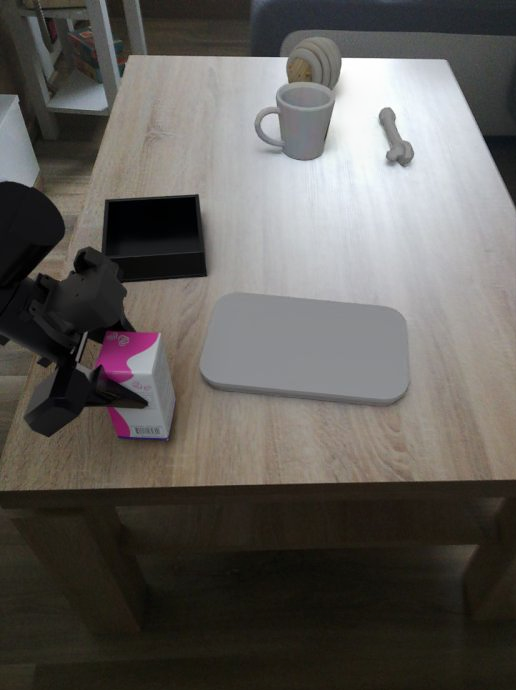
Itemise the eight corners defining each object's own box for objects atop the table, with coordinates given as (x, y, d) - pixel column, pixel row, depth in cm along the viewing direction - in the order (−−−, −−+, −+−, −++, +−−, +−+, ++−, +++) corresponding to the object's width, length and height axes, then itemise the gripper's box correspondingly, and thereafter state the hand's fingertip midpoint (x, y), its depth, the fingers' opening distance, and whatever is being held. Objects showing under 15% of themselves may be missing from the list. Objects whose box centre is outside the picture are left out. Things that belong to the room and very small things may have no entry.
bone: (413, 170, 102) (417, 151, 99) (384, 169, 102) (388, 149, 99) (402, 121, 113) (405, 102, 110) (376, 120, 113) (379, 101, 110)
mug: (340, 158, 104) (346, 103, 96) (266, 174, 99) (265, 117, 91) (316, 131, 109) (319, 77, 101) (244, 145, 105) (242, 90, 97)
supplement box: (177, 399, 66) (163, 331, 57) (168, 441, 62) (152, 376, 53) (127, 397, 65) (105, 328, 56) (116, 439, 62) (91, 373, 53)
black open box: (108, 283, 81) (100, 258, 77) (111, 224, 89) (104, 199, 85) (207, 276, 82) (204, 251, 79) (201, 218, 91) (198, 193, 87)
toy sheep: (271, 105, 115) (271, 45, 106) (311, 75, 124) (314, 18, 115) (315, 120, 112) (319, 60, 103) (353, 88, 121) (360, 30, 112)
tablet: (405, 412, 69) (408, 401, 67) (196, 392, 69) (194, 380, 68) (403, 319, 79) (406, 308, 77) (219, 302, 79) (218, 290, 77)
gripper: (15, 335, 39) (188, 428, 49) (79, 185, 51) (210, 284, 60) (-50, 398, 45) (116, 470, 55) (20, 251, 57) (148, 332, 66)
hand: (150, 383), depth 59 cm, fingers closed on supplement box, 6 cm apart
